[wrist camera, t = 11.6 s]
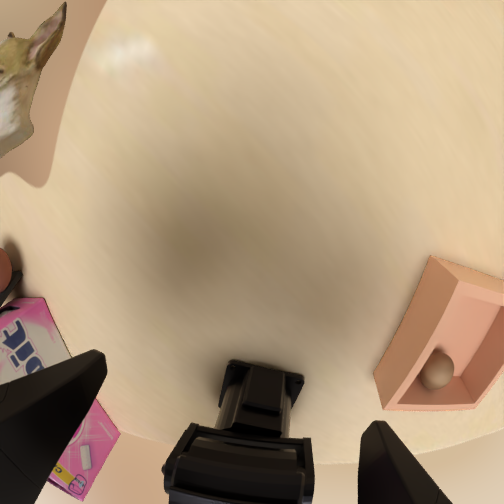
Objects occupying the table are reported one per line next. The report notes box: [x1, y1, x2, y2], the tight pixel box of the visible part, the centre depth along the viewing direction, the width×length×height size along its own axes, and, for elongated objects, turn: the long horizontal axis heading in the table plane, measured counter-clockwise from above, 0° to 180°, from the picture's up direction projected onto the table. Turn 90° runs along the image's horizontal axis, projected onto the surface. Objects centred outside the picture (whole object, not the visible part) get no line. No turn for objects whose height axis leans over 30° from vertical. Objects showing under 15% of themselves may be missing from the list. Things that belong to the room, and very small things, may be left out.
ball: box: [419, 353, 454, 390], centre depth 18 cm, size 3×3×3 cm
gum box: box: [0, 298, 120, 501], centre depth 21 cm, size 24×8×14 cm, turn 10°
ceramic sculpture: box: [0, 2, 67, 158], centre depth 13 cm, size 11×9×15 cm
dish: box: [373, 255, 504, 411], centre depth 17 cm, size 11×11×5 cm
